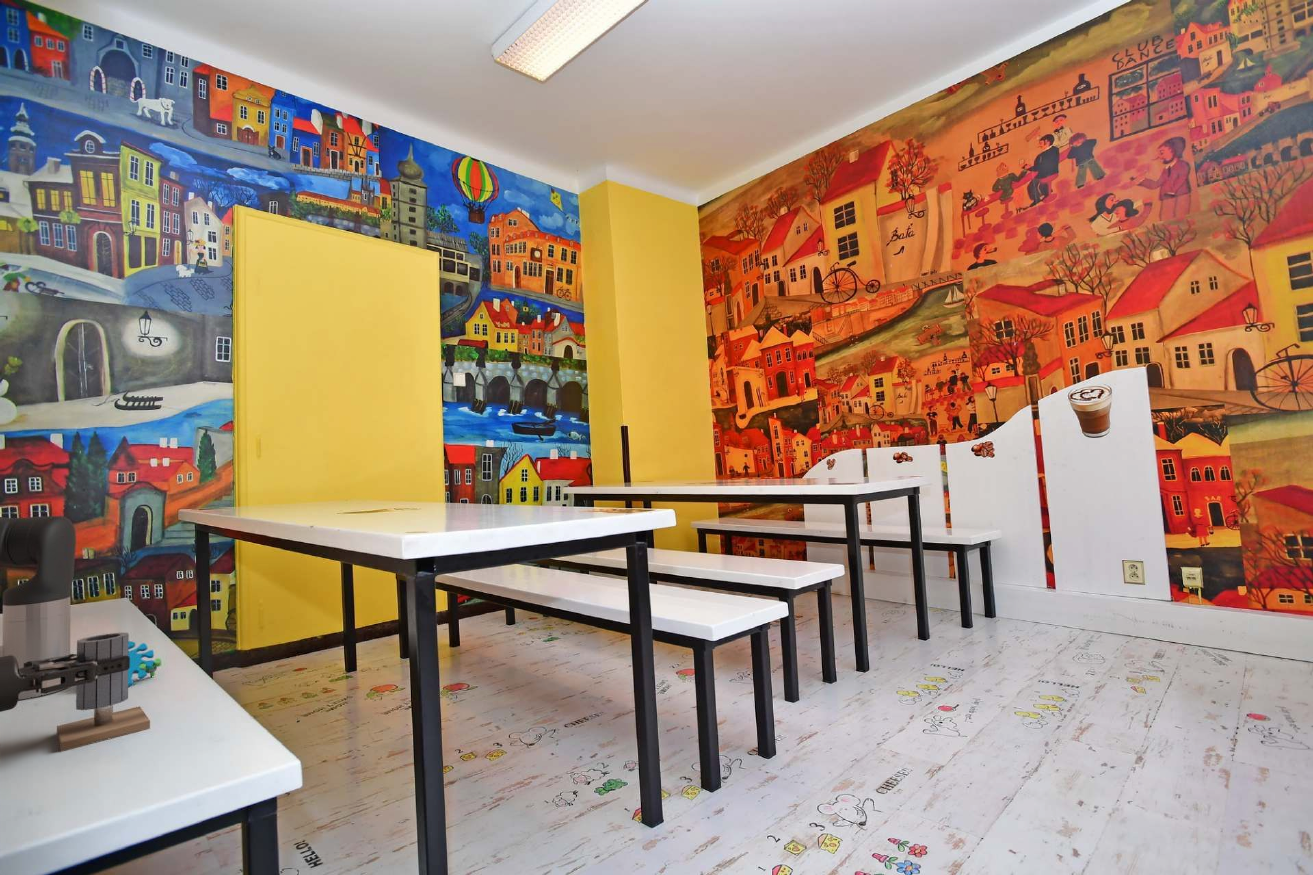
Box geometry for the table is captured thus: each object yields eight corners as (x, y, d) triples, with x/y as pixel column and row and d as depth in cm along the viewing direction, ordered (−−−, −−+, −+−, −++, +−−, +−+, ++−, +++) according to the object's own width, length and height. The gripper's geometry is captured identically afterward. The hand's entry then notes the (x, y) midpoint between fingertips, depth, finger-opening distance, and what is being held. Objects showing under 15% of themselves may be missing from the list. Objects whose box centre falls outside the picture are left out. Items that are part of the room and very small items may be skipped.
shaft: (90, 727, 96) (90, 692, 96) (99, 721, 98) (99, 687, 98) (107, 724, 96) (107, 690, 96) (116, 719, 98) (116, 686, 99)
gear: (76, 687, 115) (99, 639, 122) (82, 703, 118) (104, 656, 126) (150, 685, 119) (168, 639, 127) (154, 701, 123) (171, 655, 130)
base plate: (56, 734, 97) (56, 726, 97) (139, 713, 104) (139, 706, 104) (61, 751, 90) (61, 742, 90) (149, 728, 97) (149, 720, 97)
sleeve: (66, 712, 93) (67, 644, 94) (92, 699, 99) (92, 635, 100) (113, 706, 95) (113, 639, 95) (136, 694, 101) (136, 631, 101)
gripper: (-25, 670, 82) (137, 640, 95) (-40, 656, 90) (110, 630, 104) (-26, 729, 81) (136, 690, 95) (-42, 709, 90) (110, 676, 103)
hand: (122, 659), depth 99 cm, fingers closed on sleeve, 6 cm apart
